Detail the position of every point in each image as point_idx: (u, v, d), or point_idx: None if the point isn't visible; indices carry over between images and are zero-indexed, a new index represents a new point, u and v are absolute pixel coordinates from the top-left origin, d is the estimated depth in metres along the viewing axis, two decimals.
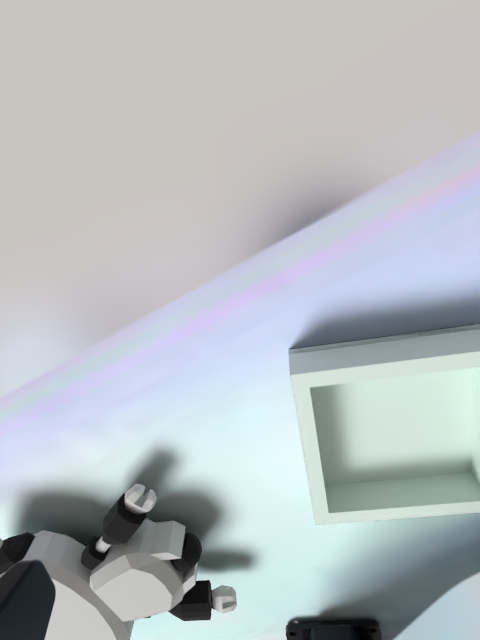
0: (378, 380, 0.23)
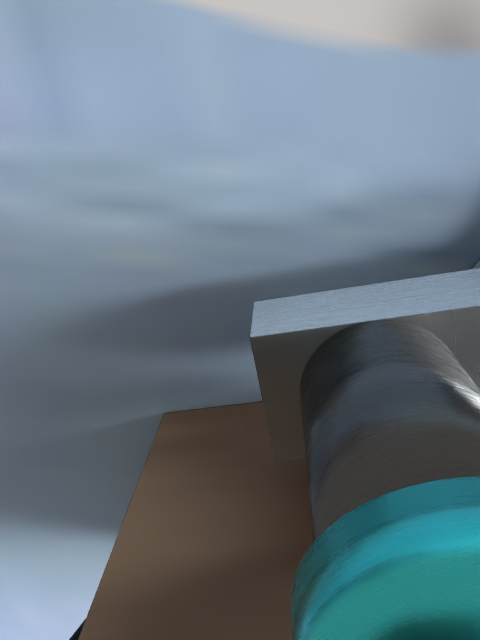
0: None
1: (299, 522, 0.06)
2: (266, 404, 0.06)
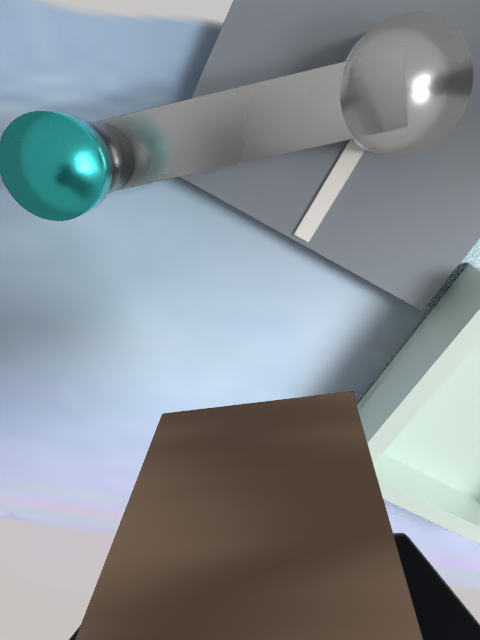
0: (459, 461, 0.20)
1: (296, 523, 0.06)
2: None
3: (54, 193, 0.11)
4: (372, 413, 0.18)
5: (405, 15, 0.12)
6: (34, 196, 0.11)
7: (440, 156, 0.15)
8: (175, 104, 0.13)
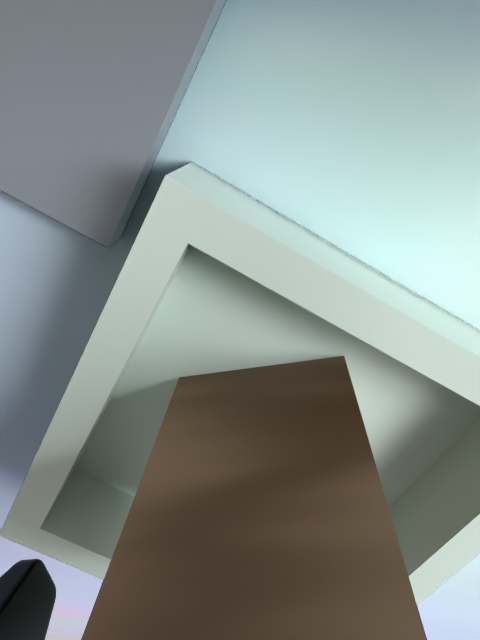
0: None
1: (295, 451, 0.08)
2: None
3: None
4: None
5: None
6: None
7: None
8: None
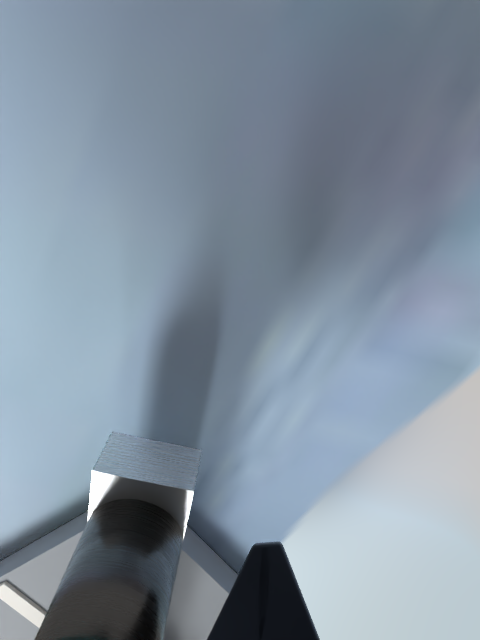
0: None
1: None
2: (141, 481, 0.09)
3: None
4: None
5: None
6: None
7: None
8: None
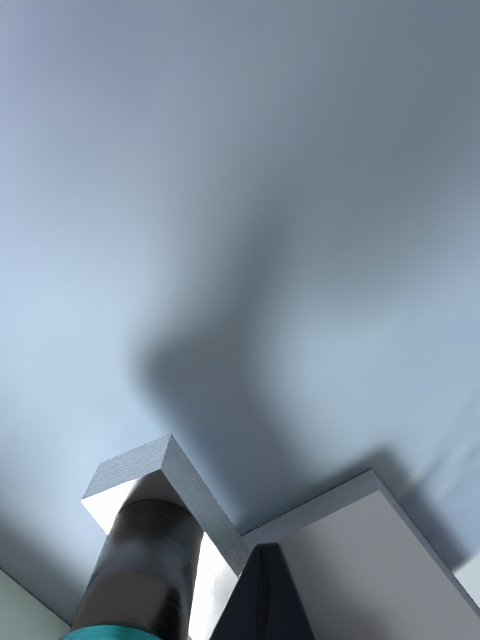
0: None
1: None
2: (119, 486, 0.09)
3: None
4: None
5: None
6: None
7: None
8: None
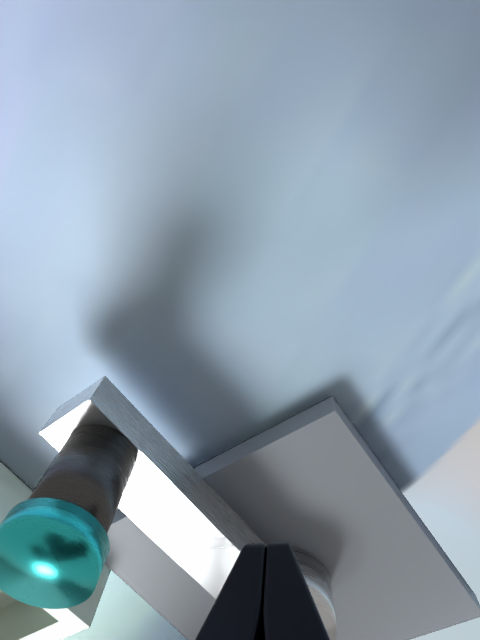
0: None
1: None
2: (63, 417, 0.12)
3: (17, 577, 0.09)
4: None
5: (328, 616, 0.15)
6: (1, 562, 0.09)
7: None
8: (185, 497, 0.13)
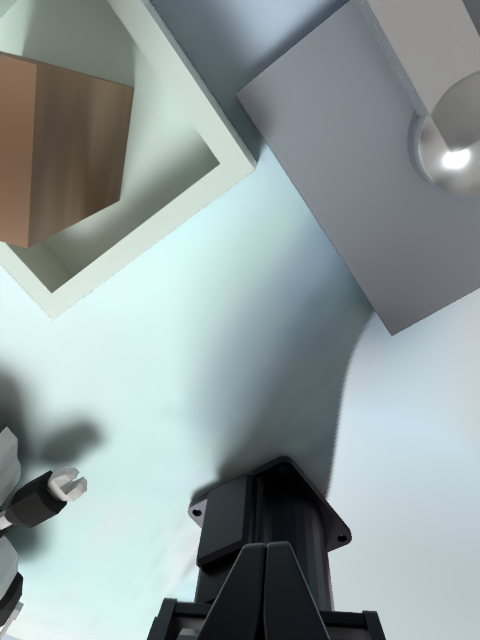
0: None
1: (93, 177, 0.14)
2: None
3: None
4: None
5: None
6: None
7: (380, 162, 0.16)
8: None
